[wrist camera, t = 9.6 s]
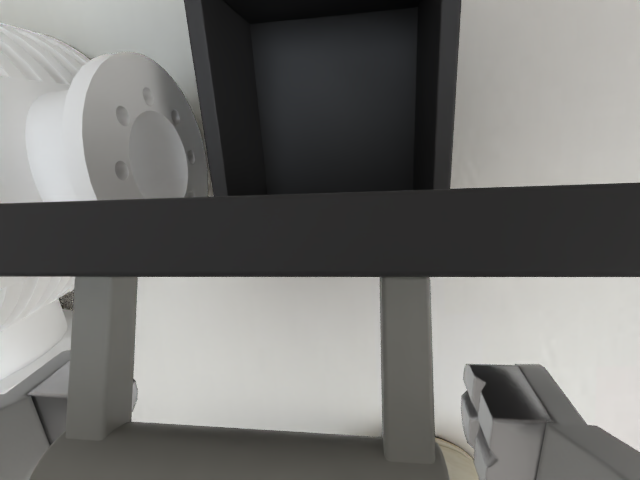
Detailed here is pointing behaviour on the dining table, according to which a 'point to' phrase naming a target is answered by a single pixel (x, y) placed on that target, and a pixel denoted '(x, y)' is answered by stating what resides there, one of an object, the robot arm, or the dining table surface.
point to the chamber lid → (294, 261)
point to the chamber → (326, 93)
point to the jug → (457, 462)
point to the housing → (81, 162)
